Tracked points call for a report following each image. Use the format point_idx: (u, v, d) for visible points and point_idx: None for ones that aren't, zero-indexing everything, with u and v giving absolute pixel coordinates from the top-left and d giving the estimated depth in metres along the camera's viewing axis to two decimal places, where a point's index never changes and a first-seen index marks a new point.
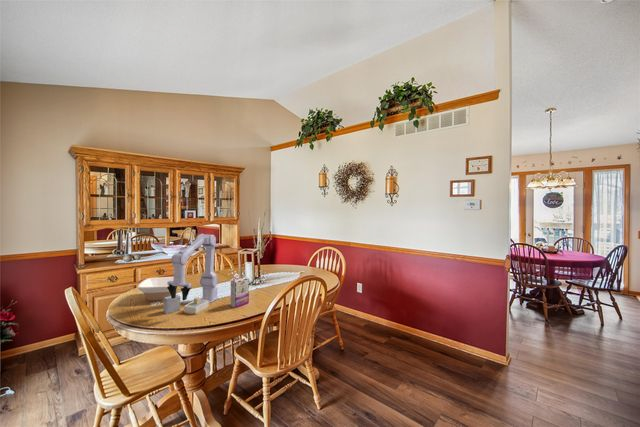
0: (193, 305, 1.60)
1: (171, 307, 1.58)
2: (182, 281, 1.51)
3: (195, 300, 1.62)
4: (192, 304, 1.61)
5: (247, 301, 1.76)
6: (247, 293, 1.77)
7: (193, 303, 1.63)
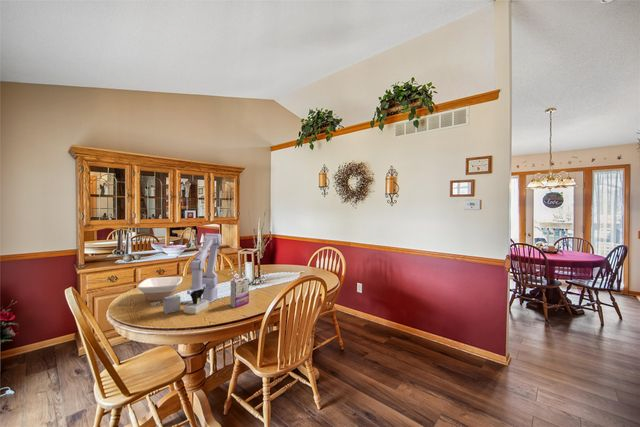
0: (193, 305, 1.60)
1: (171, 307, 1.58)
2: (192, 286, 1.61)
3: None
4: (192, 304, 1.61)
5: (247, 301, 1.76)
6: (247, 293, 1.77)
7: None
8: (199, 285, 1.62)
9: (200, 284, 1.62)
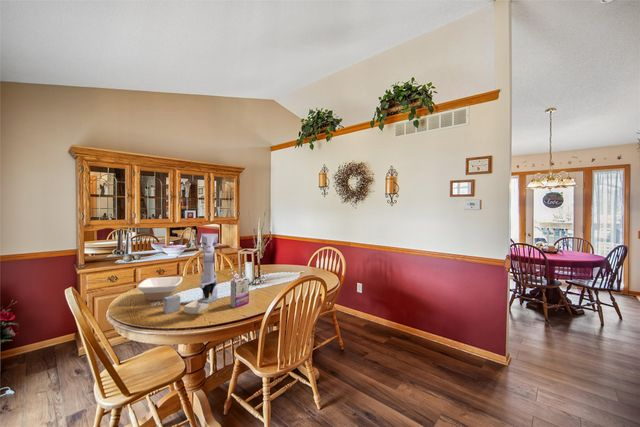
0: (205, 300, 1.54)
1: (171, 307, 1.58)
2: (204, 280, 1.55)
3: None
4: (203, 299, 1.56)
5: (247, 301, 1.76)
6: (247, 293, 1.77)
7: (204, 298, 1.57)
8: (211, 278, 1.56)
9: (212, 278, 1.57)
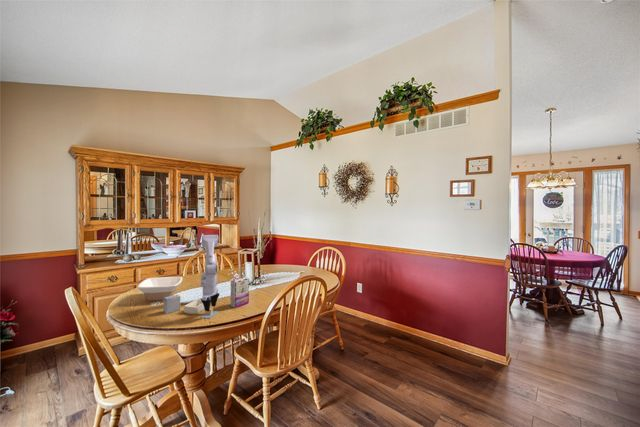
0: (207, 316, 1.54)
1: (171, 307, 1.58)
2: (207, 292, 1.54)
3: (208, 311, 1.56)
4: (206, 315, 1.55)
5: (247, 301, 1.76)
6: (247, 293, 1.77)
7: (206, 314, 1.56)
8: (214, 290, 1.55)
9: (214, 289, 1.56)
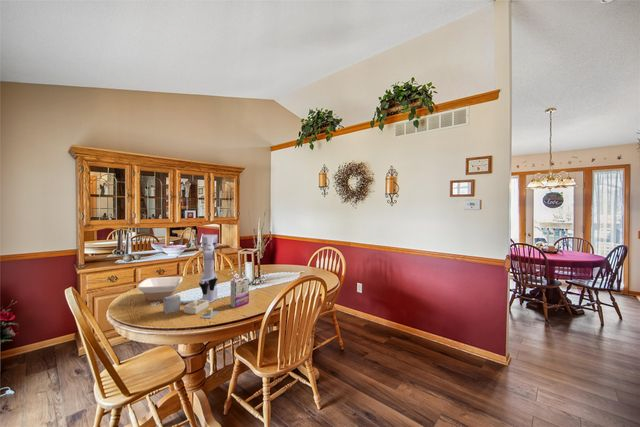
0: (207, 316, 1.54)
1: (171, 307, 1.58)
2: (205, 276, 1.63)
3: (208, 311, 1.56)
4: (206, 315, 1.55)
5: (247, 301, 1.76)
6: (247, 293, 1.77)
7: (206, 314, 1.56)
8: (211, 275, 1.64)
9: (212, 274, 1.65)
